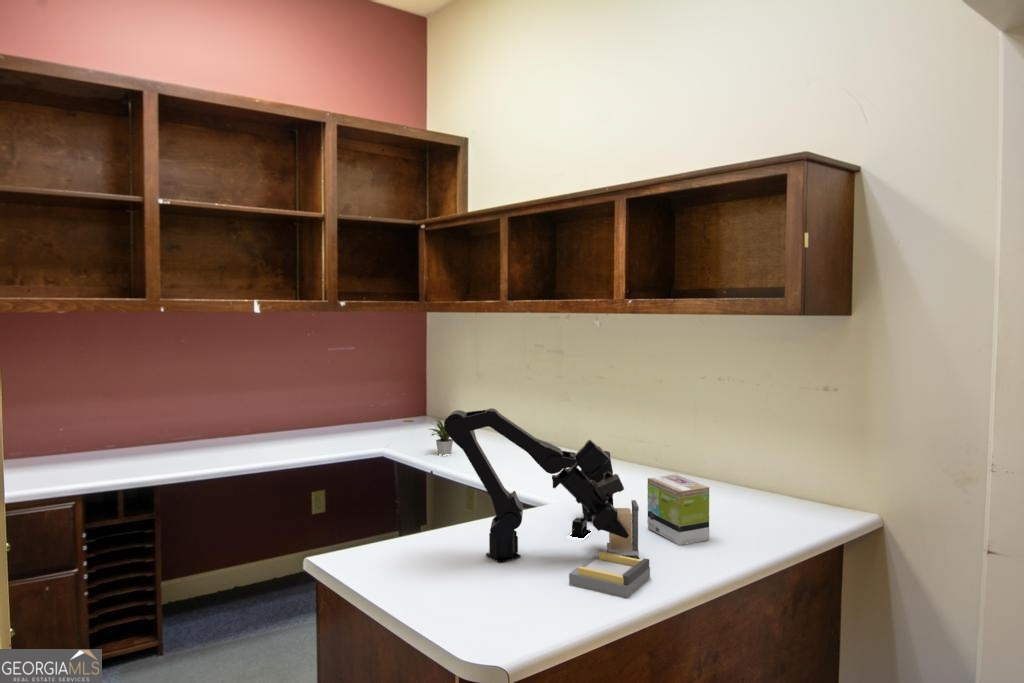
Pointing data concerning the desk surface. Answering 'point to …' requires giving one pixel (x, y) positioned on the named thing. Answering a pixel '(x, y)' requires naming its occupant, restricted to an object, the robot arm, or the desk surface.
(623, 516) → the trolley
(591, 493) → the robot arm
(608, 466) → the portable speaker
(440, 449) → the house plant
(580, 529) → the build plate
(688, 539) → the tea box
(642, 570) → the dock
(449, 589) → the desk surface
